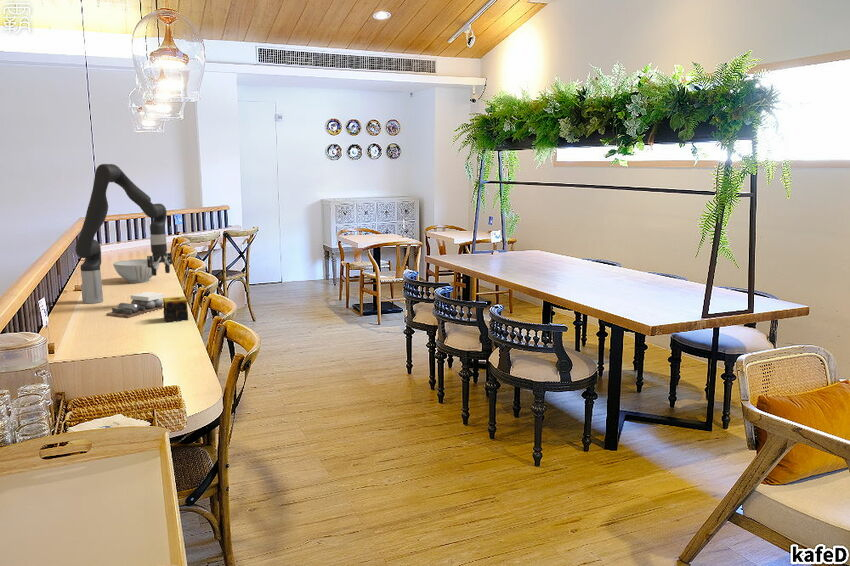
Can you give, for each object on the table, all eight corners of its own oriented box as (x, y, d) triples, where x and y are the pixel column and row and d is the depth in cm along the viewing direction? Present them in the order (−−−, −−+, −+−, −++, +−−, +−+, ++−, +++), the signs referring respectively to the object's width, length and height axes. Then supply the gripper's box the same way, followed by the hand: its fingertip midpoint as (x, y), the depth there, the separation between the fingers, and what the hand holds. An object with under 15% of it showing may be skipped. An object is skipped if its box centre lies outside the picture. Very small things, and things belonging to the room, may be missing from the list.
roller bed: (106, 315, 315) (105, 305, 314) (145, 305, 337) (145, 296, 336) (128, 318, 310) (127, 307, 309) (166, 307, 331) (165, 298, 330)
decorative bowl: (150, 285, 394) (148, 265, 392) (106, 285, 395) (104, 265, 393) (168, 277, 421) (166, 259, 419) (127, 277, 421) (125, 259, 419)
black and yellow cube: (165, 323, 300) (164, 301, 298) (163, 318, 309) (161, 297, 307) (188, 320, 305) (187, 299, 303) (185, 316, 314) (184, 295, 312)
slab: (130, 299, 326) (130, 295, 326) (146, 295, 335) (146, 291, 335) (148, 301, 322) (148, 297, 321) (164, 297, 331) (163, 293, 330)
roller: (118, 311, 319) (117, 303, 318) (124, 310, 322) (124, 302, 322) (133, 313, 315) (132, 305, 314) (139, 311, 318) (139, 303, 318)
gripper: (163, 241, 340) (166, 271, 343) (142, 244, 328) (144, 275, 331) (174, 241, 337) (176, 272, 340) (152, 244, 325) (155, 276, 327)
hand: (161, 274), depth 335 cm, fingers open, 8 cm apart
